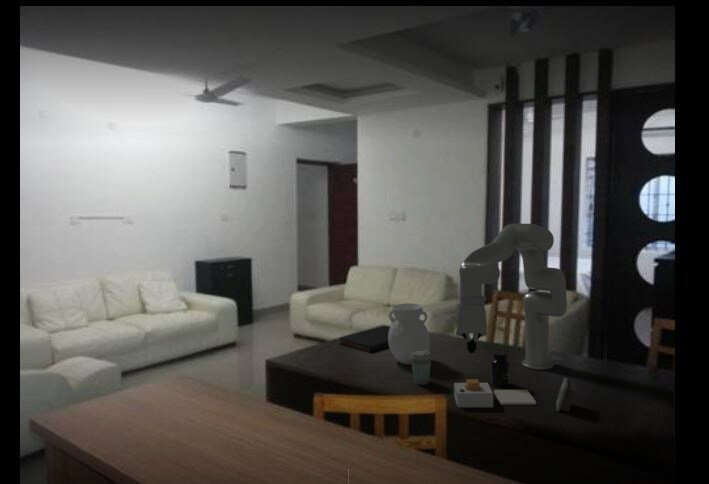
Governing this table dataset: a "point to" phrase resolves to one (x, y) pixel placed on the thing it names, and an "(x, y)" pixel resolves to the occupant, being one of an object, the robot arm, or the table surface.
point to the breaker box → (473, 396)
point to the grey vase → (407, 331)
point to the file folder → (368, 339)
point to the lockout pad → (514, 397)
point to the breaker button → (472, 384)
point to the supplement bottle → (500, 370)
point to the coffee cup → (421, 366)
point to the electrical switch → (565, 395)
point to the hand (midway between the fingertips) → (471, 351)
